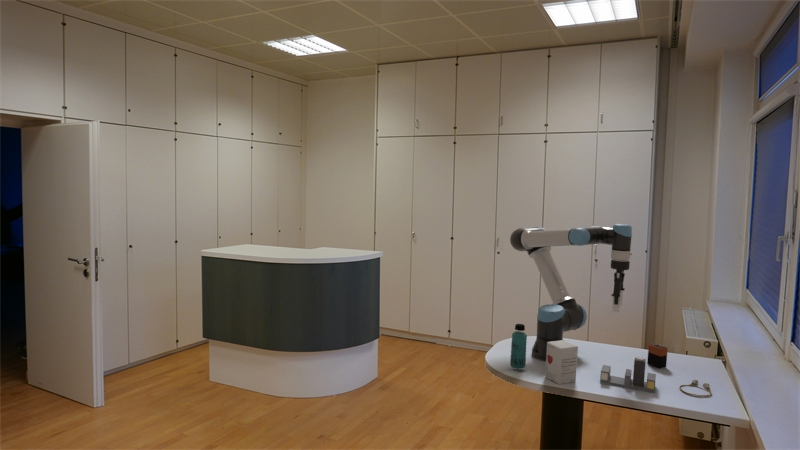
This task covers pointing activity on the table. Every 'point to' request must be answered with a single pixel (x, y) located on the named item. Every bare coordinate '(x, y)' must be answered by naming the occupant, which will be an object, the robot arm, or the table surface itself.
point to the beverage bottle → (518, 347)
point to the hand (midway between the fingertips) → (617, 308)
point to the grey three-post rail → (627, 380)
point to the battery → (657, 355)
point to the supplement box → (561, 361)
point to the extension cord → (698, 387)
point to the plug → (639, 371)
